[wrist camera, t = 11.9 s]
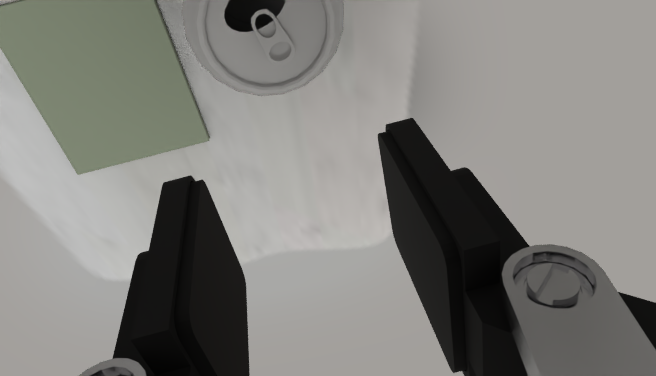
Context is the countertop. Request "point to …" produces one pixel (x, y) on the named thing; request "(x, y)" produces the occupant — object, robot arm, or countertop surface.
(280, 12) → the can
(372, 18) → the countertop surface
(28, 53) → the mat
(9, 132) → the countertop surface
